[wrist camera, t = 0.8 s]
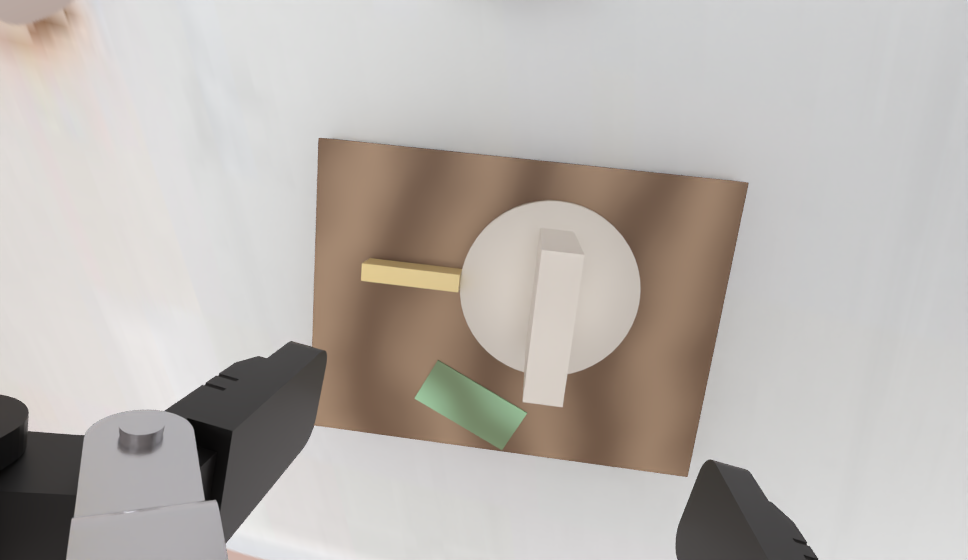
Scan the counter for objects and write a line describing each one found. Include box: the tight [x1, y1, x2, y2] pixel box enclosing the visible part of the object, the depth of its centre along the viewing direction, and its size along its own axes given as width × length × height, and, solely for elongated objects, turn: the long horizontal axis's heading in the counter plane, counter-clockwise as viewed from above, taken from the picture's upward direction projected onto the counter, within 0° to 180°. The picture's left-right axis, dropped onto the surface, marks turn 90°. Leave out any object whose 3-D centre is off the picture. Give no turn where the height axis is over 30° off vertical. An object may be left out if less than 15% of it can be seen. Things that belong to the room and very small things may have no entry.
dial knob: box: [361, 200, 641, 407], centre depth 28 cm, size 16×10×8 cm, turn 84°
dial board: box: [312, 138, 748, 477], centre depth 34 cm, size 24×18×2 cm
